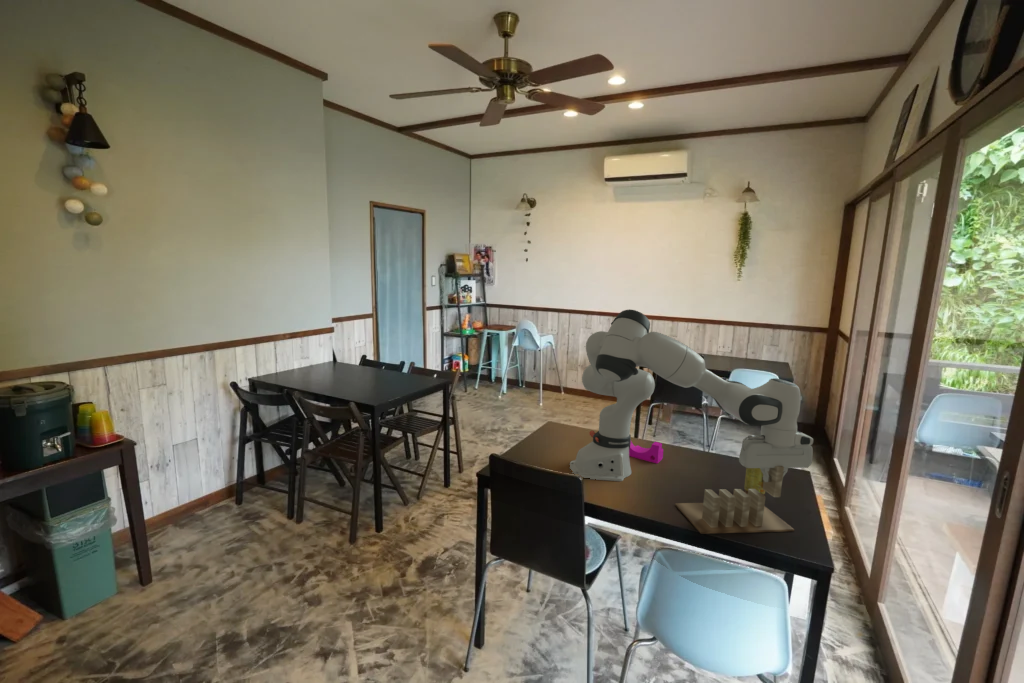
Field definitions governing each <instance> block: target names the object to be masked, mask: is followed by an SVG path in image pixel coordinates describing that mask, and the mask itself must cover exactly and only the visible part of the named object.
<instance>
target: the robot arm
mask: <svg viewBox="0 0 1024 683" xmlns="http://www.w3.org/2000/svg"><path fill="white" fill-rule="evenodd" d="M610 324H611V325H610V327H609V328H608V331H603V330H602V331H601V330H600V331H596V332H594V333H591V335H589V337H588V338H587V340H586V344H585V351H586V356H587V360H588V361H589V365H588V366H587V367H586V368H584V370H583V372H582V377H581V380H582V381H581V382H582V385H583V387H584V388H585V390H587V391H590V392H591V393H594V394H598V395H603V396H609V397H615V398H616V403H613V404H609V405H607V406H604V407H603V408H602V409H601V410H600V413H599V420H598V421H599V422H598V430H597V431H596V432H595V431H594V430H590V431H589V436H590V437H591V438H592V441H590V442H589V443H588V444H586V445H584V446H583V447H581V448H580V449H579V450H578V451H577V453H576V457H575V459H574V460H571V461H570V462H569V465H570V467H569V470H570V469H571V470H572V471H573V472H571V473H572V474H573V473H574V474H579V475H581V476H582V477H584V478H590V479H589V480H595V479H596V481H598V480H599V481H609V482H610V481H611V482H623V481H624V479H625V478H627V477H629V476H631V475H632V468H631V460H630V456H629V449H630V444H631V442H632V440H631V439H632V438H631V436H632V435H631V434H630V432H631V423H632V420H633V419H632V418H633V414H634V412H635V410H636V408H637V407H638V406H639V405H640V404H641V403H643V402H644V401H646V400H648V399H649V398H650V397H651V396H652V395H653V393H654V391H655V387H656V383H655V379H654V376H653V375H652V374H651V372H653V373H654V374H656V375H658V376H659V377H661V378H662V379H664V380H665V381H668V382H670V383H672V384H673V385H676V386H678V387H682V388H685V389H686V388H691V387H694V388H696V389H697V390H700V391H701V392H703V393H704V394H706V395H708V396H709V397H711V398H712V399H713V400H714V402H715V403H716V405H717V406H718V408H720V410H722V411H723V412H724V413H726V414H728V415H731V416H733V417H734V418H735V419H737V420H738V421H740V422H742V423H744V424H745V425H748V426H753V427H760V434H759V435H758V434H757V435H747V437H745V438H743V440H742V443H741V444H742V445H741V448H740V453H739V457H738V462H739V464H740V465H742V466H743V467H745V469H746V468H760V469H761V471H762V473H763V480H764V481H765V482H771V479H772V476H770V475H769V474H768V472H767V471H769V469H770V468H775V466H783V467H784V471H783V479H782V482H783V480H784V477H785V475H786V474H787V473H788V472H789V471H788V470H789V469H794V468H795V469H797V468H799V469H805V468H806V469H807V468H809V467H810V466H811V465H812V462H813V457H814V455H813V454H814V453H813V452H814V450H813V444H814V438H813V437H811V436H810V435H808V434H806V433H803V432H801V431H799V430H798V418H799V415H800V411H801V399H802V398H801V390H800V387H799V386H798V384H796V383H794V382H791V381H789V380H785V379H781V378H774V377H773V378H769V380H768V381H767V382H766V383H764V384H761V385H760V386H757V387H755V388H754V387H753V388H751V387H749V386H747V385H746V384H744V383H742V382H740V381H735V380H726V379H723V378H722V377H720V376H718V375H717V374H715V373H714V372H712V371H711V370H709V369H708V368H707V367H706V361H705V359H704V358H703V357H702V356H701V355H700V354H699V353H698V352H696V350H694V349H693V348H691V347H689V346H688V345H686V344H685V343H683V342H681V341H680V340H677V339H676V338H673V337H671V336H669V335H666V334H664V333H661V332H659V331H650V329H651V327H650V326H651V321H650V320H649V318H648V317H647V316H646V315H645V314H644V313H642V312H640V311H638V310H636V309H625V310H622V311H620V312H619V313H618V315H616V317H615V318H614V319H613V320H612V321H611V323H610ZM638 367H642V368H643V367H644V368H647V369H648V370H650V371H651V372H649V371H646V370H643V369H640V368H638ZM571 470H570V471H571ZM574 474H573V475H574Z"/></svg>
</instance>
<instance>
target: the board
mask: <svg viewBox="0 0 1024 683" xmlns="http://www.w3.org/2000/svg"><path fill="white" fill-rule="evenodd" d="M703 503H704V502H679V503H674V504H675V507H676V508H677V509H678V510H679V511H680V512H681V513H682V514H683V516H685V517H686V519H687V520H688V521H689V522H690V523H691V524H692V526H693V527H694V528H695V529H696V530H697V532H698V533H700V534H706V535H707V534H709V535H710V534H737V533H739V534H740V533H744V534H746V533H773V532H775V533H776V532H779V533H781V532H783V533H784V532H795V528H793V527H792V526H791V525H790V524H788V523H787V521H785V520H783V519H782V518H780V516H779V515H777V514H775V513H774V512H773V511H772V510H770V509H769V508H768V507H767V506H766V505H765V506H764V514H763V522H762V526H755V525H753V524H752V523H751V522H750V521H749V520H748V525H747V527H741V526H739V525H738V524H737V523H736V522H735V521H734V520H733V527H725V526H724V525H723V524H722V523H721V522H720V521H719V520H718V527H710V526H709V525H708V524H707V523H706V522H705V521H704V520H703V519H702V513H703Z"/></svg>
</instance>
